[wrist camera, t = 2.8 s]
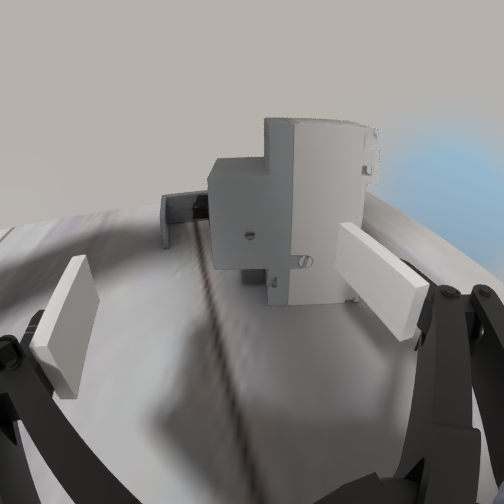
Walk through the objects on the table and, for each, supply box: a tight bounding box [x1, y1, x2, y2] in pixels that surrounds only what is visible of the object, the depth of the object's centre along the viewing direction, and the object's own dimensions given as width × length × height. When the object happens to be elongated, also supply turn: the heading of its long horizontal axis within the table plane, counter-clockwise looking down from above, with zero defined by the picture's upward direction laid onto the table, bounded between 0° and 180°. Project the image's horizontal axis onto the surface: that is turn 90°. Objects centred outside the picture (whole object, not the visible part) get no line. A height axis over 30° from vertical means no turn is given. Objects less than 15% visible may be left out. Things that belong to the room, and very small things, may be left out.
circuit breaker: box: [192, 118, 380, 306], centre depth 27 cm, size 8×14×15 cm, turn 91°
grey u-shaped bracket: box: [160, 190, 208, 249], centre depth 42 cm, size 22×9×4 cm, turn 104°
